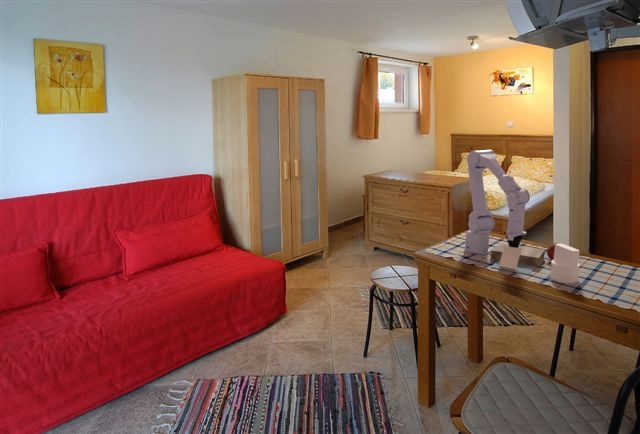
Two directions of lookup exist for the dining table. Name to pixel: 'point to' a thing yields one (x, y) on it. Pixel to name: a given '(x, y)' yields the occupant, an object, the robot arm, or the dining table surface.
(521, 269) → the mat
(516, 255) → the tan tilted rectangular prism
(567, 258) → the base with upright slab
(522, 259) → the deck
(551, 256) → the onion
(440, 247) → the dining table surface
